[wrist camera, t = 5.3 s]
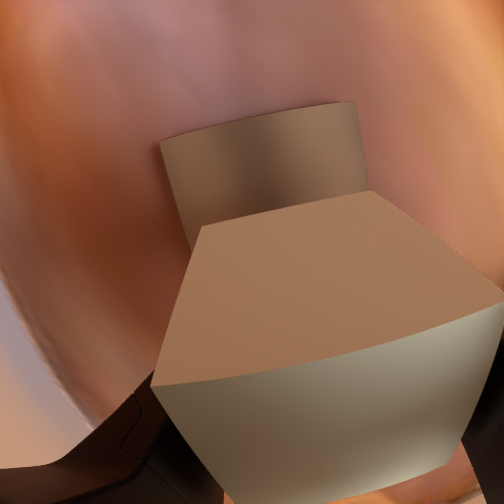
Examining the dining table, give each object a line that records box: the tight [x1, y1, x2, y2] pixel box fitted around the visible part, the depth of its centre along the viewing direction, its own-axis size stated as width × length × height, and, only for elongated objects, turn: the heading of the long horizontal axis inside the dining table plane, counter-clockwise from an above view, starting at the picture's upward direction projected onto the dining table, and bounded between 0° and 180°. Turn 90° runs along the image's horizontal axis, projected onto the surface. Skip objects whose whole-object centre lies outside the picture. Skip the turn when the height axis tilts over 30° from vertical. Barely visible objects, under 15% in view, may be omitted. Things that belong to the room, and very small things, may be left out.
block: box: [150, 190, 504, 504], centre depth 7 cm, size 5×5×6 cm
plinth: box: [159, 101, 368, 254], centre depth 18 cm, size 10×10×3 cm
